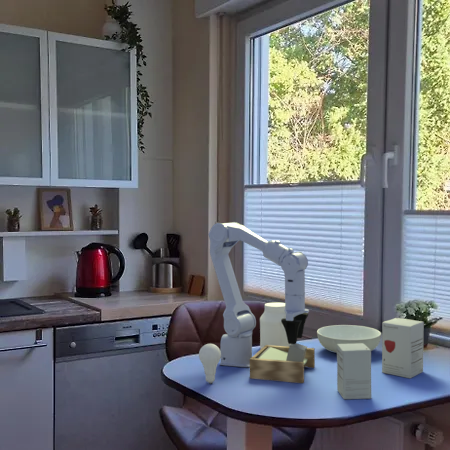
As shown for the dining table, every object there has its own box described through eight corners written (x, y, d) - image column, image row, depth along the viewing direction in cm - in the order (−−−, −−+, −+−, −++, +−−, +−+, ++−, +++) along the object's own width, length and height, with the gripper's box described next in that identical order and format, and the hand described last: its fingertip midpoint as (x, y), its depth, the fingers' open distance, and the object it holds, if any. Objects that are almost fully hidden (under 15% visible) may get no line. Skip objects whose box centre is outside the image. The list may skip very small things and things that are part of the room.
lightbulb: (205, 387, 159) (204, 347, 158) (195, 381, 164) (195, 342, 164) (225, 384, 162) (224, 344, 161) (215, 378, 167) (214, 340, 167)
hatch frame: (249, 378, 167) (249, 359, 167) (266, 362, 183) (265, 344, 183) (302, 383, 162) (302, 363, 162) (314, 366, 178) (314, 348, 178)
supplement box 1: (364, 389, 156) (364, 342, 155) (371, 399, 148) (371, 349, 148) (336, 390, 156) (336, 343, 155) (342, 399, 148) (342, 350, 148)
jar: (275, 353, 193) (274, 308, 193) (255, 348, 201) (254, 304, 200) (298, 347, 201) (298, 304, 200) (278, 342, 208) (278, 300, 208)
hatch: (255, 360, 168) (256, 357, 168) (268, 349, 181) (268, 346, 181) (297, 374, 164) (298, 371, 164) (306, 361, 177) (307, 358, 177)
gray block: (285, 361, 170) (289, 345, 169) (289, 357, 174) (293, 342, 173) (300, 366, 168) (304, 350, 168) (303, 362, 173) (307, 346, 172)
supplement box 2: (380, 372, 171) (380, 321, 170) (395, 366, 177) (395, 317, 177) (410, 379, 164) (410, 326, 164) (424, 372, 171) (424, 321, 170)
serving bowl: (306, 354, 192) (306, 333, 192) (333, 341, 209) (332, 322, 209) (367, 364, 180) (367, 341, 180) (390, 349, 197) (390, 329, 197)
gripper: (303, 298, 162) (303, 347, 163) (313, 291, 176) (313, 336, 176) (278, 297, 164) (278, 345, 165) (290, 290, 178) (290, 334, 179)
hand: (295, 340), depth 171 cm, fingers open, 7 cm apart
